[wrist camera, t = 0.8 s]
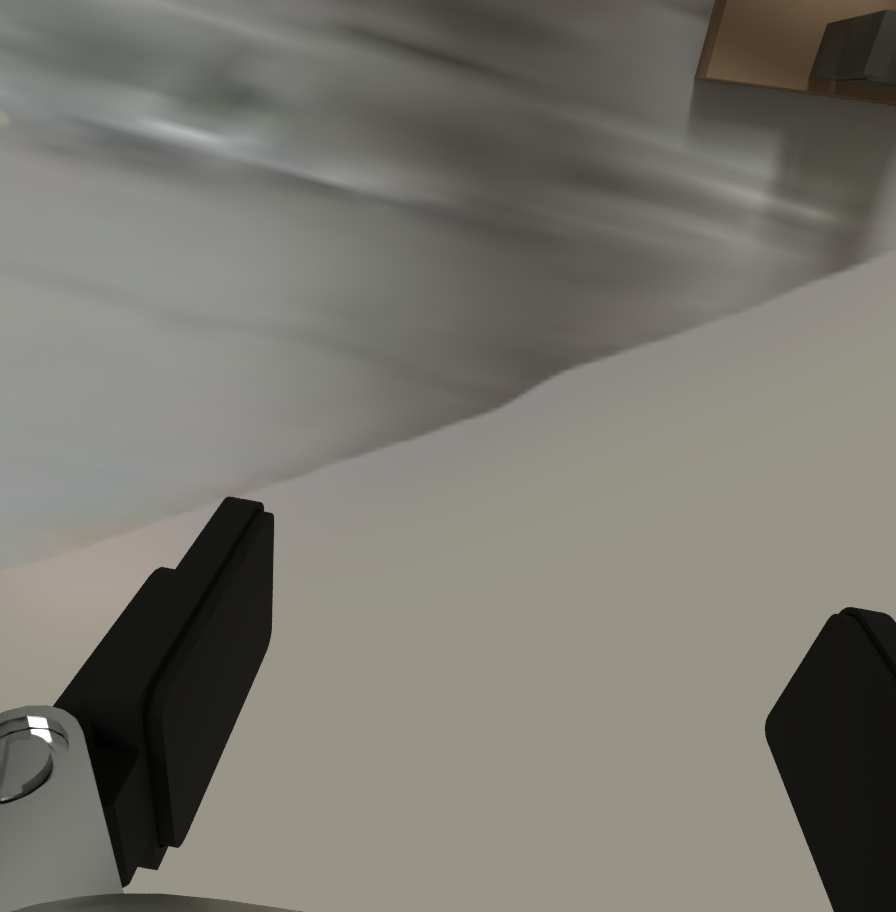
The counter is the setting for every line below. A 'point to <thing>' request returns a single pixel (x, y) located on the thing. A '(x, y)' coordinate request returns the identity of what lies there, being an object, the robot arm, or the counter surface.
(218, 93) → the counter surface
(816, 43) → the clamp board
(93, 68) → the counter surface
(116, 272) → the counter surface
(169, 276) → the counter surface
